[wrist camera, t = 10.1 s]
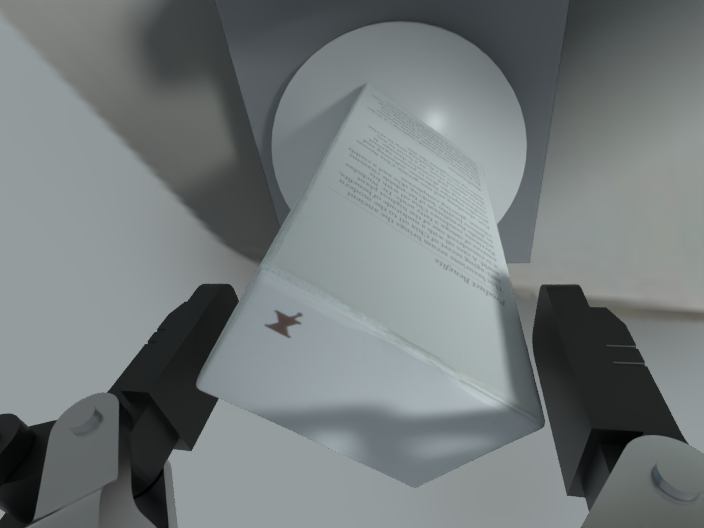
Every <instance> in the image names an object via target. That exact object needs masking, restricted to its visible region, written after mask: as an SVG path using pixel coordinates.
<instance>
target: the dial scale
mask: <svg viewBox="0 0 704 528" xmlns="http://www.w3.org/2000/svg"><path fill="white" fill-rule="evenodd" d="M569 1H570V0H215V3H216V7H217V10H218V14H219V17H220V21H221V24H222V28H223V31H224V35H225V38H226V41H227V45H228V48H229V52H230V55H231V59H232V62H233V66H234V69H235V73H236V76H237V80H238V83H239V87H240V90H241V94H242V97H243V101H244V104H245V108H246V111H247V115H248V118H249V121H250V125H251V128H252V132H253V135H254V139H255V142H256V146H257V149H258V153H259V156H260V160H261V163H262V167H263V170H264V174H265V177H266V181H267V184H268V188H269V191H270V195H271V198H272V202H273V205H274V208H275V212H276V215H277V219H278V222H279V226H280V228H281V226H282V225H283V223H284V221H285V219H286V218H287V216H288V214H289V212H290V211H291V209H292V207H293V205H294V204H295V202H296V200H297V198H298V196H299V195H300V193H301V191H302V189H303V188H304V186H305V184H306V182H307V181H308V179H309V177H310V175H311V173H312V172H313V170H314V168H315V166H316V164H317V163H318V161H319V159H320V157H321V156H322V154H323V152H324V150H325V149H326V147H327V145H328V144H329V142H330V140H331V138H332V137H333V135H334V133H335V132H336V130H337V128H338V126H339V125H340V123H341V121H342V120H343V118H344V116H345V115H346V113H347V111H348V110H349V108H350V106H351V105H352V103H353V102H354V100H355V98H356V97H357V95H358V93H359V91H360V90H361V88H362V87H363V85H364V84H366V83H368V84H370V85H371V86H373V87H374V88H375V89H377V90H378V91H380V92H381V93H382V94H384V95H385V96H387V97H388V98H389V99H391V100H392V101H394V102H395V103H396V104H398V105H399V106H401V107H402V108H404V109H405V110H407V111H408V112H410V113H411V114H412V115H414V116H415V117H417V118H418V119H419V120H421V121H422V122H424V123H425V124H427V125H428V126H430V127H431V128H432V129H434V130H435V131H436V132H438V133H439V134H441V135H442V136H444V137H445V138H447V139H448V140H449V141H451V142H452V143H454V144H455V145H456V146H458V147H459V148H461V149H462V150H463V151H465V152H466V153H468V154H469V155H471V156H472V157H473V158H475V159H476V160H478V161H479V162H481V163H482V166H483V169H484V173H485V178H486V182H487V186H488V190H489V194H490V199H491V203H492V207H493V211H494V215H495V219H496V223H497V227H498V232H499V236H500V240H501V244H502V247H503V251H504V256H505V260H506V263H530V257H531V250H532V244H533V237H534V231H535V224H536V218H537V211H538V204H539V198H540V191H541V185H542V178H543V172H544V165H545V158H546V152H547V145H548V139H549V132H550V125H551V119H552V112H553V106H554V99H555V93H556V86H557V79H558V73H559V66H560V60H561V53H562V47H563V40H564V33H565V27H566V20H567V14H568V7H569Z"/></svg>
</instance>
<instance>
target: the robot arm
mask: <svg viewBox="0 0 704 528" xmlns="http://www.w3.org/2000/svg"><path fill="white" fill-rule="evenodd" d="M238 302H239V300H238V298H237V295H236V293H235V291H234V289H233V287H232V286H231V285H229V284H202V285H200V286H199V287H198V288H197V289H196V291H195V292H194V293H193V295H192V296H191V297H190V299H189V300H188V301H187V302H184V303H183V304H182V305H180V306H179V307H178V308H176V309H175V310H174V311H173V312H171V313H170V314H169V315H168V316H167V317H166V319H165V320H164V321H163V322H162V324H161V325H160V326H159V328H158V329H157V332H155V333H154V334H153V335H152V336H151V338H150V339H149V340H148V344H145V345H144V347H143V348H142V349H141V350H140V352H139V353H138V354H137V355H136V357H135V358H134V359H133V360H132V362H131V363H130V364H129V366H128V367H127V368H126V369H125V371H124V372H123V373H122V375H121V376H120V377H119V378H118V380H117V381H116V382H115V383H114V385H113V386H112V387H111V389H110V390H109V391H108V392H107V393H97V394H93V395H91V396H88V397H86V398H84V399H82V400H80V401H78V402H77V403H75V404H74V405H73V406H71V407H70V408H69V409H67V410H66V411H65V412H64V413H63V414H62V415H61V416H60V418H59V419H58V420H55V421H50V422H46V423H42V424H38V425H33V426H29V427H28V426H27V425H26V424H25V423H24V422H23V421H21V420H20V419H19V418H18V417H17V416H16V415H13V414H1V415H0V509H1V510H3V511H4V512H6V513H5V514H4V516H3V517H2V518H1V520H0V528H178V527H177V517H176V508H175V499H174V489H173V479H172V470H171V464H170V462H169V461H168V457H169V455H170V454H171V452H172V450H173V449H178V450H186V451H192V449H193V447H194V445H195V443H196V441H197V439H198V437H199V435H200V434H201V432H202V430H203V428H204V426H205V424H206V422H207V420H208V418H209V416H210V414H211V412H212V410H213V408H214V406H215V405H216V403H217V401H218V399H219V398H217V397H215V396H212V395H210V394H208V393H205V392H203V391H201V390H199V389H198V388H197V386H196V382H197V378H198V376H199V374H200V372H201V370H202V368H203V366H204V364H205V362H206V361H207V359H208V357H209V355H210V353H211V351H212V349H213V348H214V346H215V344H216V342H217V340H218V338H219V337H220V335H221V333H222V331H223V329H224V328H225V326H226V324H227V322H228V320H229V318H230V317H231V315H232V313H233V311H234V309H235V308H236V306H237V304H238ZM532 336H533V337H532V340H533V341H532V343H533V353H534V358H535V363H536V367H537V371H538V375H539V379H540V384H541V388H542V392H543V396H544V400H545V404H546V409H547V413H548V417H549V421H550V425H551V430H552V434H553V438H554V442H555V447H556V451H557V454H558V459H559V463H560V467H561V472H562V476H563V480H564V484H565V488H566V493H567V496H576V497H585V498H586V501H587V505H588V509H589V514H588V515H587V517H586V519H585V521H584V523H583V524H582V526H581V528H704V454H703V453H702V452H700V451H699V450H697V449H696V448H694V447H692V446H690V445H689V444H688V443H687V442H686V440H685V439H684V437H683V435H682V433H681V431H680V430H679V428H678V426H677V424H676V422H675V420H674V418H673V416H672V414H671V412H670V410H669V408H668V406H667V404H666V403H665V400H664V398H663V397H662V395H661V393H660V391H659V389H658V387H657V385H656V383H655V381H654V379H653V377H652V375H651V374H650V371H649V370H648V367H646V366H645V364H644V363H645V362H644V360H643V358H642V356H641V354H640V352H639V350H638V349H636V345H635V342H634V340H633V338H632V336H631V334H630V332H629V331H628V329H627V327H626V325H625V324H624V323H623V322H622V321H621V320H620V319H618V318H617V317H616V316H615V315H614V314H613V313H612V312H610V311H609V310H608V309H607V308H600V307H589V305H588V302H587V300H586V298H585V296H584V293H583V291H582V289H581V287H580V286H579V285H542V286H541V288H540V291H539V297H538V303H537V309H536V315H535V321H534V327H533V335H532Z"/></svg>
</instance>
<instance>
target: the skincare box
mask: <svg viewBox="0 0 704 528" xmlns="http://www.w3.org/2000/svg"><path fill="white" fill-rule="evenodd" d="M196 386H197V388H198V389H199V390H201V391H203V392H205V393H208V394H210V395H212V396H215V397H217V398H219V399H222V400H224V401H226V402H229V403H231V404H233V405H236V406H238V407H240V408H243V409H245V410H247V411H249V412H252V413H254V414H256V415H258V416H261V417H263V418H265V419H267V420H269V421H272V422H274V423H276V424H278V425H281V426H283V427H285V428H287V429H289V430H292V431H294V432H296V433H298V434H300V435H302V436H304V437H306V438H308V439H310V440H312V441H314V442H317V443H319V444H321V445H323V446H325V447H327V448H329V449H332V450H334V451H336V452H338V453H340V454H343V455H345V456H347V457H349V458H351V459H353V460H355V461H357V462H359V463H362V464H364V465H366V466H368V467H371V468H373V469H375V470H377V471H380V472H382V473H384V474H386V475H388V476H390V477H392V478H395V479H397V480H399V481H401V482H403V483H405V484H407V485H409V486H411V487H414V488H416V487H419V486H420V485H423V484H424V483H427V482H429V481H431V480H433V479H435V478H437V477H439V476H441V475H444V474H445V473H447V472H449V471H451V470H453V469H455V468H458V467H460V466H462V465H464V464H466V463H468V462H470V461H472V460H475V459H476V458H479V457H481V456H483V455H485V454H487V453H489V452H491V451H494V450H496V449H498V448H500V447H502V446H504V445H507V444H509V443H511V442H513V441H515V440H518V439H520V438H522V437H524V436H527V435H529V434H531V433H533V432H535V431H537V430H539V429H541V428H543V427H544V424H545V419H544V415H543V410H542V406H541V401H540V397H539V394H538V390H537V386H536V382H535V379H534V374H533V369H532V366H531V362H530V358H529V354H528V349H527V345H526V342H525V338H524V334H523V330H522V326H521V322H520V317H519V313H518V309H517V305H516V301H515V297H514V293H513V289H512V285H511V281H510V277H509V272H508V268H507V264H506V260H505V256H504V251H503V247H502V244H501V240H500V236H499V232H498V227H497V223H496V219H495V215H494V211H493V207H492V203H491V199H490V194H489V190H488V186H487V182H486V178H485V173H484V169H483V166H482V163H481V162H479V161H478V160H476V159H475V158H473V157H472V156H471V155H469V154H468V153H466V152H465V151H463V150H462V149H461V148H459V147H458V146H456V145H455V144H454V143H452V142H451V141H449V140H448V139H447V138H445V137H444V136H442V135H441V134H439V133H438V132H436V131H435V130H434V129H432V128H431V127H430V126H428V125H427V124H425V123H424V122H422V121H421V120H419V119H418V118H417V117H415V116H414V115H412V114H411V113H410V112H408V111H407V110H405V109H404V108H402V107H401V106H399V105H398V104H396V103H395V102H394V101H392V100H391V99H389V98H388V97H387V96H385V95H384V94H382V93H381V92H380V91H378V90H377V89H375V88H374V87H373V86H371V85H370V84H368V83H366V84H364V85H363V87H362V88H361V90H360V91H359V93H358V95H357V97H356V98H355V100H354V102H353V103H352V105H351V106H350V108H349V110H348V111H347V113H346V115H345V116H344V118H343V120H342V121H341V123H340V125H339V126H338V128H337V130H336V132H335V133H334V135H333V137H332V138H331V140H330V142H329V144H328V145H327V147H326V149H325V150H324V152H323V154H322V156H321V157H320V159H319V161H318V163H317V164H316V166H315V168H314V170H313V172H312V173H311V175H310V177H309V179H308V181H307V182H306V184H305V186H304V188H303V189H302V191H301V193H300V195H299V196H298V198H297V200H296V202H295V204H294V205H293V207H292V209H291V211H290V212H289V214H288V216H287V218H286V219H285V221H284V223H283V225H282V226H281V228H280V230H279V232H278V234H277V235H276V237H275V239H274V241H273V243H272V244H271V246H270V248H269V250H268V251H267V253H266V255H265V257H264V259H263V260H262V262H261V263H260V265H259V266H258V268H257V270H256V272H255V274H254V276H253V278H252V279H251V281H250V283H249V285H248V286H247V288H246V290H245V292H244V294H243V295H242V297H241V299H240V301H239V302H238V304H237V306H236V308H235V309H234V311H233V313H232V315H231V317H230V318H229V320H228V322H227V324H226V326H225V328H224V329H223V331H222V333H221V335H220V337H219V338H218V340H217V342H216V344H215V346H214V348H213V349H212V351H211V353H210V355H209V357H208V359H207V361H206V362H205V364H204V366H203V368H202V370H201V372H200V374H199V376H198V378H197V382H196Z"/></svg>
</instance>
